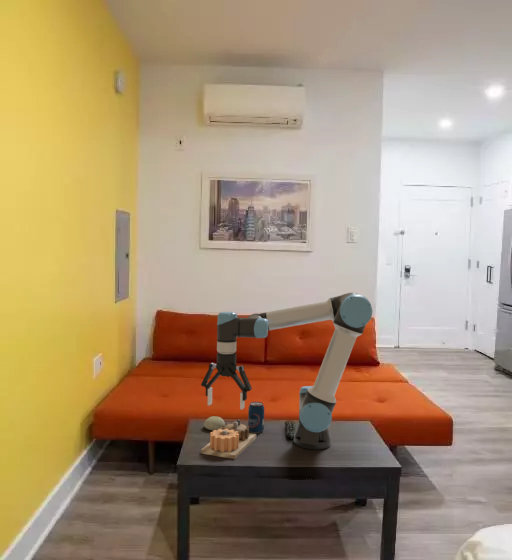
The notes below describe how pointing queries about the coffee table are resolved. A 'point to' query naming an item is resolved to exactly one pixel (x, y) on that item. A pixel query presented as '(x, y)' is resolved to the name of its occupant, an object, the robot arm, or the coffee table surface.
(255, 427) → the soda can
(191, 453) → the coffee table surface
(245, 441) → the gear board
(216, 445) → the loose gear
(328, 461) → the coffee table surface
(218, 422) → the sea urchin shell
